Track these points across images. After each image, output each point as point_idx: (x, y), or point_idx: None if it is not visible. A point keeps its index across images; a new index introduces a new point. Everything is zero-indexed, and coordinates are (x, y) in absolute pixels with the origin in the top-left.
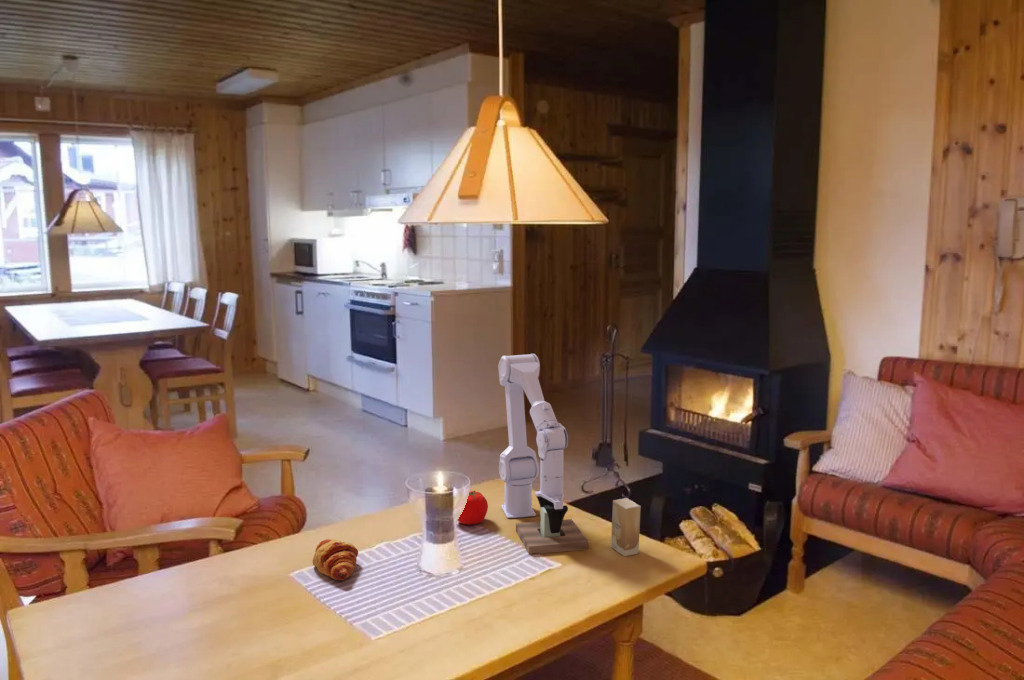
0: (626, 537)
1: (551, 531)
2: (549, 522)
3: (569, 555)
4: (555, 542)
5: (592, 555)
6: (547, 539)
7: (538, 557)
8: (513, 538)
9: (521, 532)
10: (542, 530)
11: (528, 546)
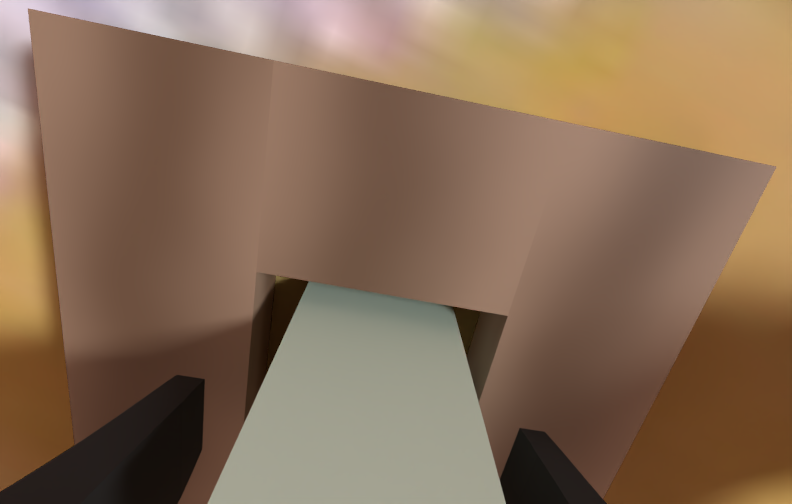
0: None
1: (157, 388)
2: (73, 469)
3: (36, 350)
4: (106, 335)
5: (20, 474)
6: (197, 298)
7: (17, 93)
8: (551, 45)
9: (486, 112)
10: (377, 335)
11: (56, 15)
